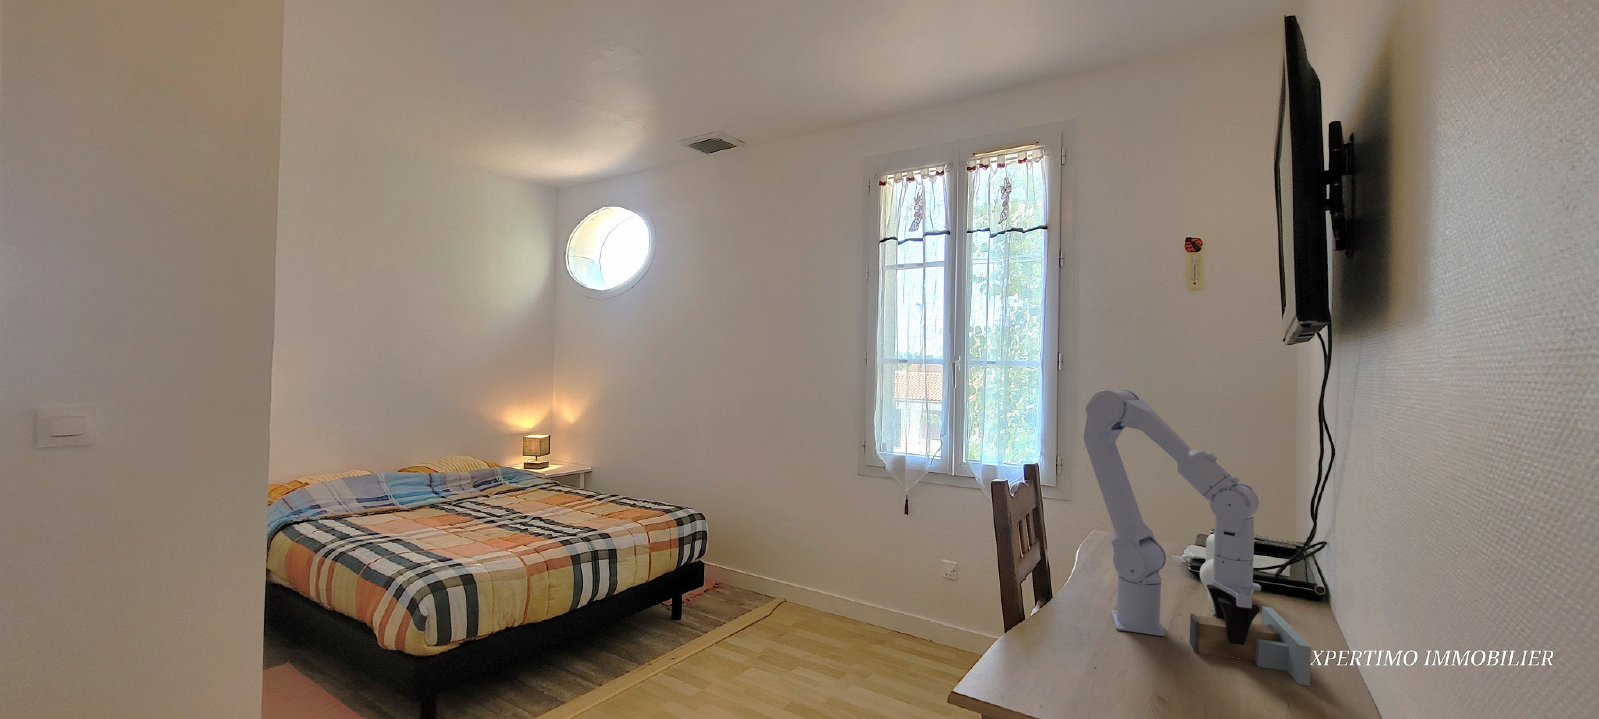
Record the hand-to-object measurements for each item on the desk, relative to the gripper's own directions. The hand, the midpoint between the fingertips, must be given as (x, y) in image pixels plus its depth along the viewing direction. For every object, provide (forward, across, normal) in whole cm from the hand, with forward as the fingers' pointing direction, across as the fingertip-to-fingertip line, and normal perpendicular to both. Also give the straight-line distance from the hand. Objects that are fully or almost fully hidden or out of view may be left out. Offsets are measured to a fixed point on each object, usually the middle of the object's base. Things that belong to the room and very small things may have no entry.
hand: (1230, 636), depth 116 cm
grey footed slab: (+3, 0, -6) cm, 6 cm away
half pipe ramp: (+3, 0, 0) cm, 3 cm away
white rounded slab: (+3, +37, -8) cm, 38 cm away
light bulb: (+3, +20, -3) cm, 20 cm away
